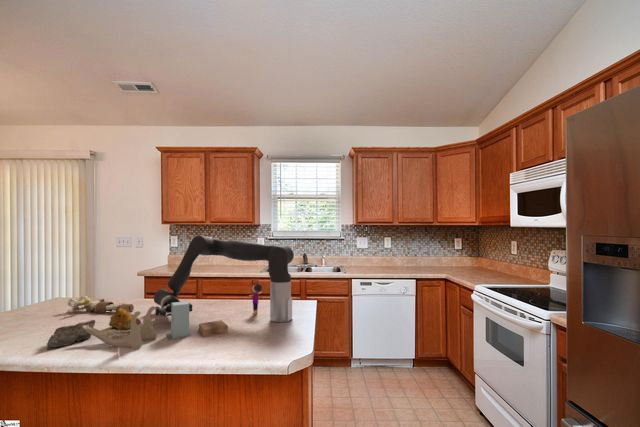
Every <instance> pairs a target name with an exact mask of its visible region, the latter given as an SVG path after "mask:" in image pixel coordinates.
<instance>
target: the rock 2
mask: <svg viewBox="0 0 640 427" xmlns="http://www.w3.org/2000/svg"><path fill="white" fill-rule="evenodd" d="M133 315H134V313H131V312H130V311H129V312H128V311H127V310H125V309H124V308H120V309H118V310H116V311H113V313H112V315H111V316H110V317H109V319H110V321H109V323H108V326H109V327H112V328H113V329H114V328H115V329H117V331H118V330H120V331H122V330H131V320H132V317H133ZM136 324H137V325H139V324H142V321H141V319H140V318H139V317H137V318H136Z"/></svg>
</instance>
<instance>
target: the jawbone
mask: <svg viewBox="0 0 640 427" xmlns="http://www.w3.org/2000/svg"><path fill="white" fill-rule="evenodd" d="M156 307H157V306H151V307H149V308H148V310H147V311H146V314H145V316H144V318H143V322H141V324H139V325H137V324H136V318H139V316H140V315H141V314H142V313H141V311H139V310H138V311H135V312H134V313H133V317H132V320H131V329H128V330H124V329H121V330H118V329H117V330H116V328H115V329H114V328H113V329H107V330H99V329H97V328H94V327H93V328H92V327H89V325H88V324H87V326H86V325H84V326H82V327H83V328H84V329H85V331H86V332H87V333H89V334H91V336H93V337H95V338H97V339H98V340H99V341H101V342H103V343H104V344H106V345H108V346H112V347H115V348H120V347H121V348H132V349H140V348H141V347H142V346H143V341H146V340H156V339H157V337H158V336H157V333H156V331H155V329H154V322H155V320H156V317H154V318H151V315H152V313H153V311H155V308H156Z"/></svg>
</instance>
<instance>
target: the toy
mask: <svg viewBox="0 0 640 427" xmlns="http://www.w3.org/2000/svg"><path fill="white" fill-rule="evenodd" d="M252 284H253V286H252V287H251V291H252V294H250V295H248V297H249V298H251V297H252V308H253V312H252V313H251V314H252V315H258V307H259V306H258V305H259V295H260V294H263V291H262V290H263V287H262V284H261V283H259V282H257V281H256V282H254V283H252Z"/></svg>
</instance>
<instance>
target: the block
mask: <svg viewBox="0 0 640 427" xmlns="http://www.w3.org/2000/svg"><path fill="white" fill-rule="evenodd" d="M189 303H190V302H188V301H186V300H185V301H180V302H174V303H171V318H170V321H171V322H170V333H171V335H172V337H173V338H178V337H184V336H189V330H190V312H189Z"/></svg>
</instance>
